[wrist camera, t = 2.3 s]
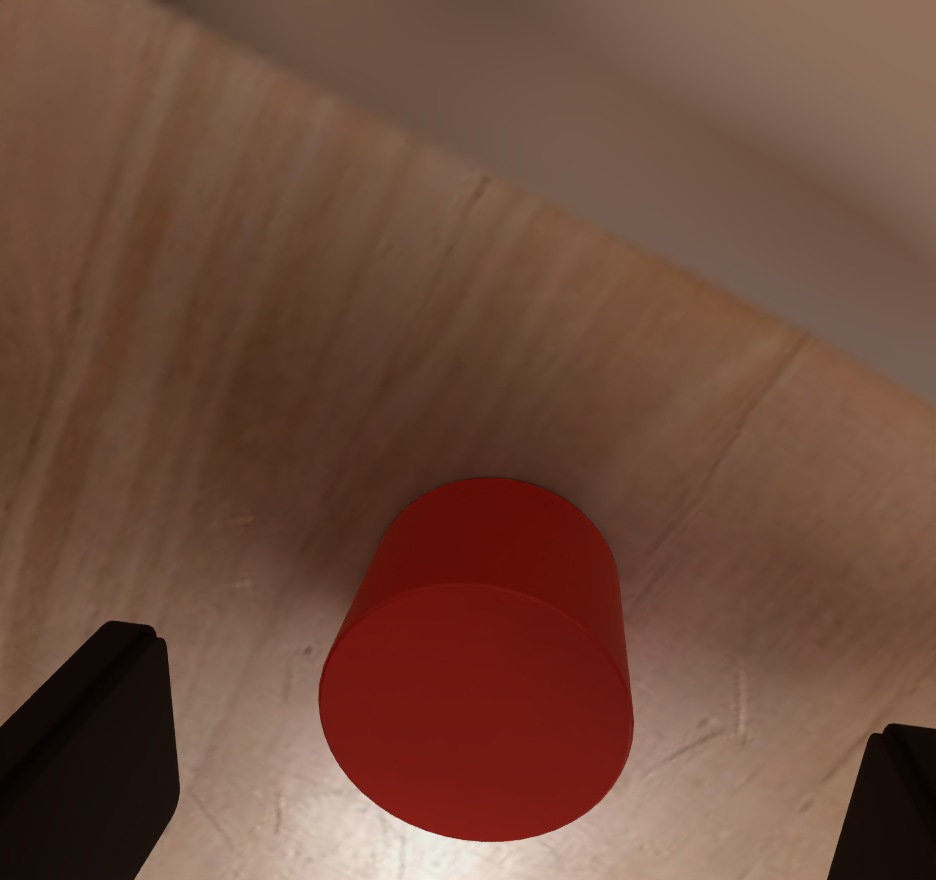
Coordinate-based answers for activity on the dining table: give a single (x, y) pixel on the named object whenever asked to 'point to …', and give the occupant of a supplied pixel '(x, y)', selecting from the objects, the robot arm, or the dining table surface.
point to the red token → (483, 666)
